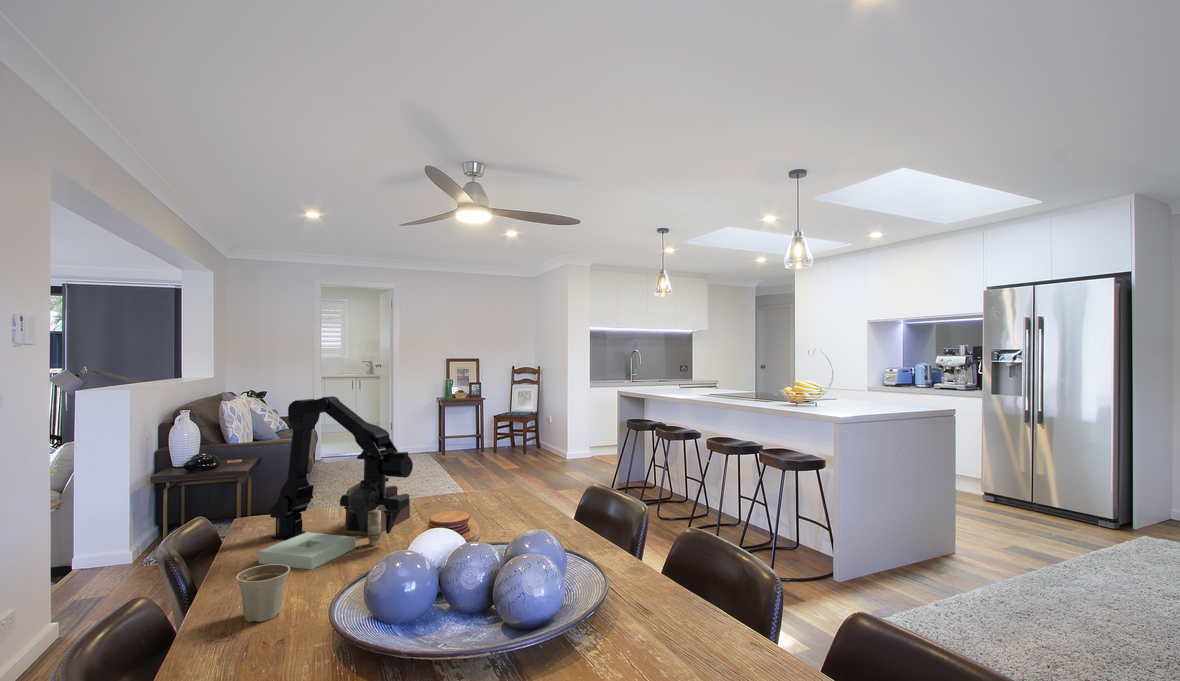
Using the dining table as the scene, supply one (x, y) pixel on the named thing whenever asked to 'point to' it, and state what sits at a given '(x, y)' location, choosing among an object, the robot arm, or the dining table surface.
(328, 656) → the dining table surface
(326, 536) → the board
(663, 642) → the dining table surface
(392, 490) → the letter holder
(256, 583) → the flower pot
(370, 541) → the peg
